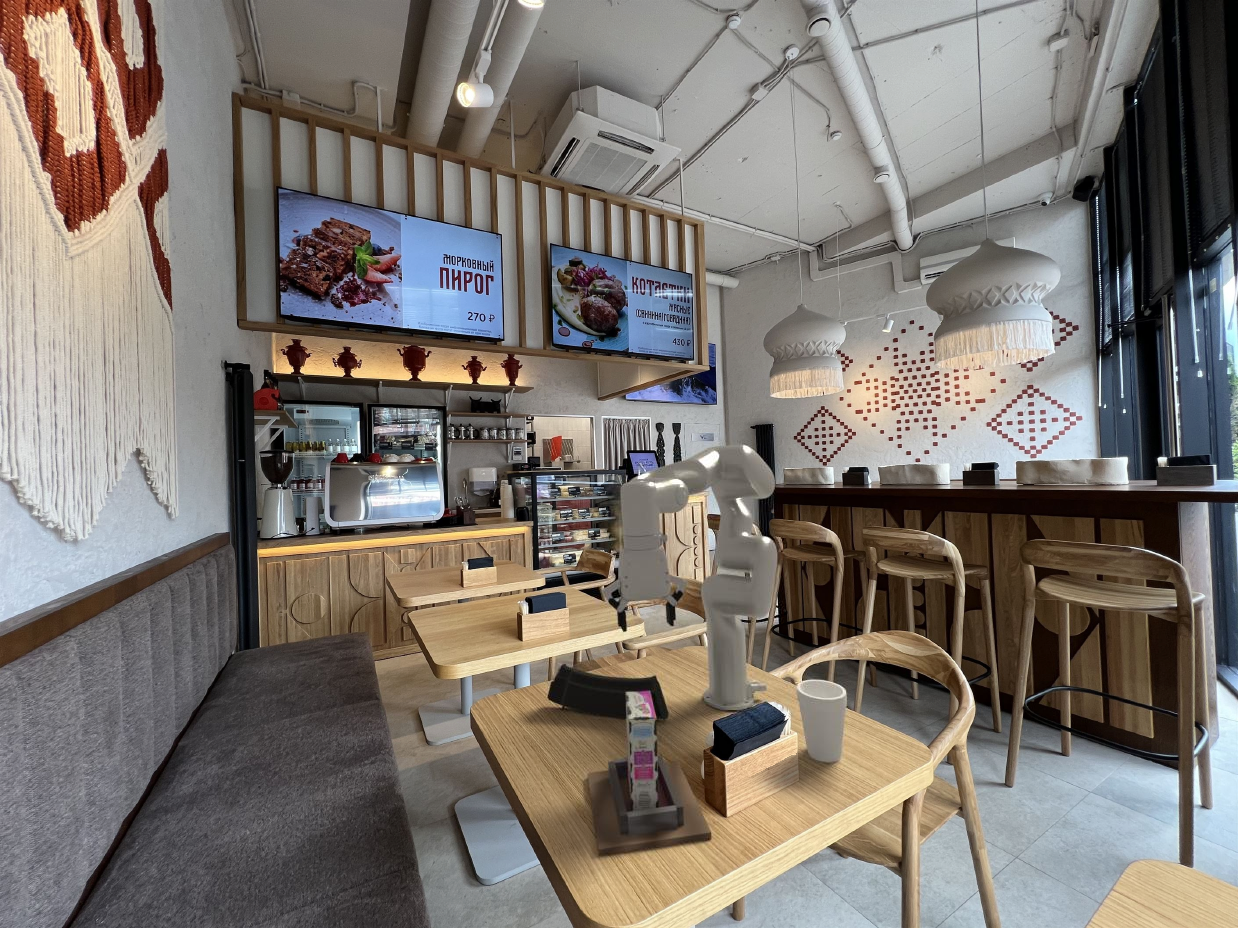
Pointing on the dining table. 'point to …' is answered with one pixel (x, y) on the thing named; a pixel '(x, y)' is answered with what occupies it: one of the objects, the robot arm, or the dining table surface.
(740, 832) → the dining table surface
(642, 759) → the candy bar box
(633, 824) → the end cap board
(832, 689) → the foam cup
